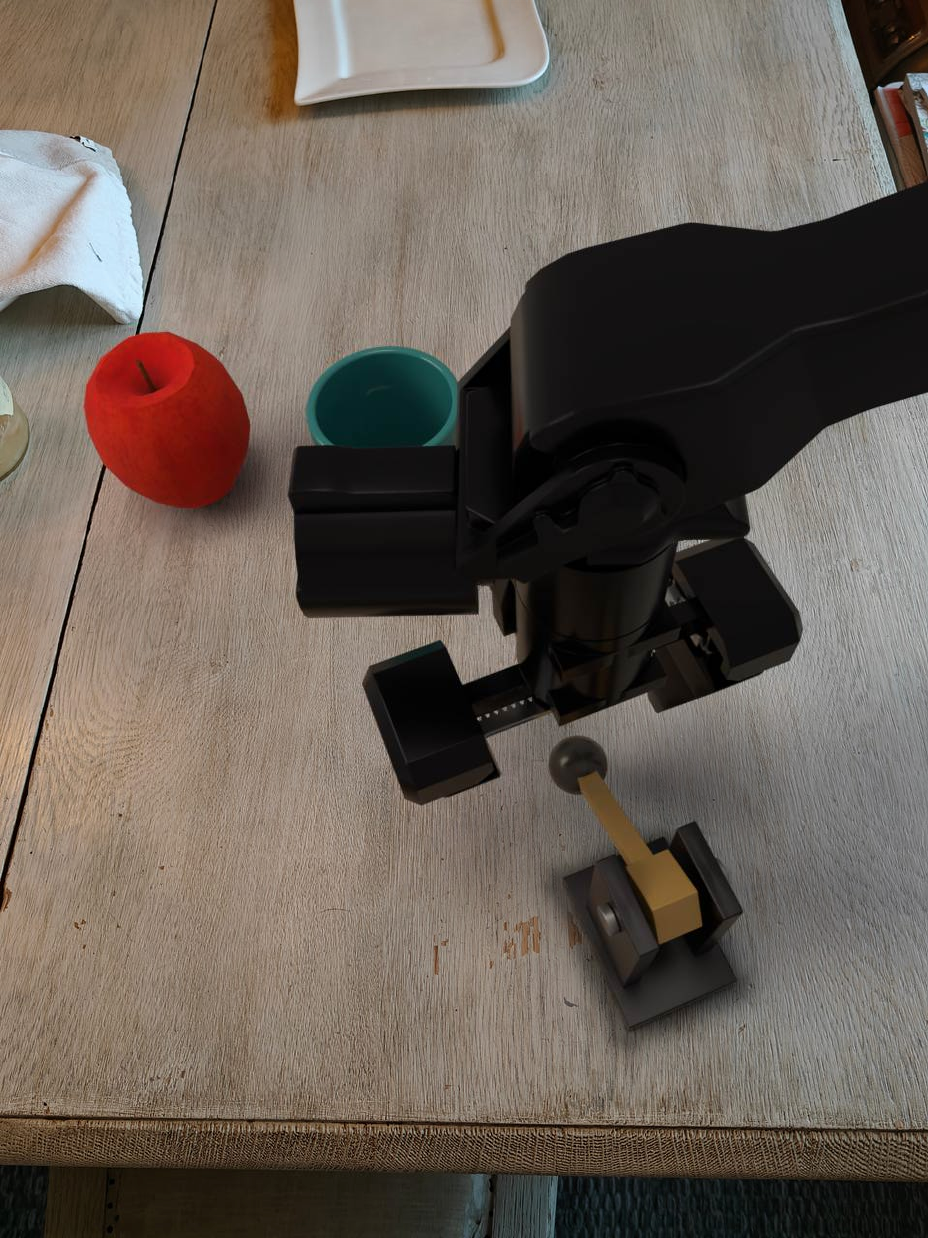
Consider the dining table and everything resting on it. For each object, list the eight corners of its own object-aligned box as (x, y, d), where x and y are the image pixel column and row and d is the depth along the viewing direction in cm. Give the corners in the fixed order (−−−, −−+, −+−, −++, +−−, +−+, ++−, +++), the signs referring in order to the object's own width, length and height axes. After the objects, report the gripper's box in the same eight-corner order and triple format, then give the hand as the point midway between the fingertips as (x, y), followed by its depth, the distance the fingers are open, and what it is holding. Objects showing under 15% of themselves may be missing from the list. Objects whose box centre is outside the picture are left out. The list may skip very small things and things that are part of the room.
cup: (348, 621, 61) (314, 519, 51) (334, 474, 67) (300, 356, 57) (489, 599, 61) (481, 493, 51) (462, 454, 67) (450, 334, 57)
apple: (117, 455, 69) (42, 327, 58) (248, 411, 70) (198, 277, 59) (147, 561, 64) (71, 443, 53) (287, 511, 65) (239, 386, 55)
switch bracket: (561, 883, 52) (568, 829, 43) (661, 842, 53) (687, 780, 44) (627, 1031, 48) (648, 1004, 40) (733, 984, 49) (776, 948, 40)
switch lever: (545, 779, 54) (535, 736, 52) (597, 758, 54) (588, 715, 52) (650, 955, 43) (641, 909, 41) (713, 928, 43) (707, 880, 42)
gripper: (710, 354, 41) (665, 555, 54) (293, 496, 38) (355, 670, 52) (855, 554, 35) (765, 722, 49) (382, 734, 33) (425, 858, 47)
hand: (574, 735), depth 49 cm, fingers open, 9 cm apart
